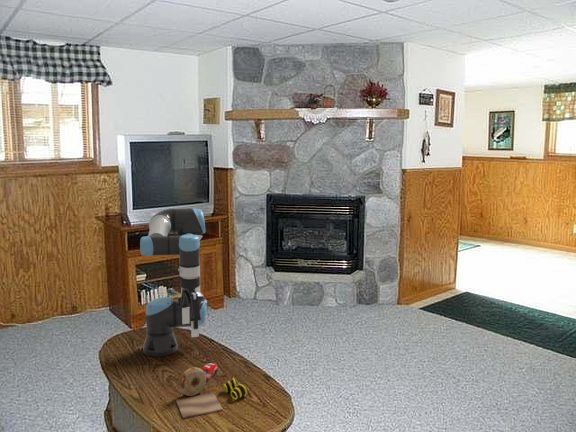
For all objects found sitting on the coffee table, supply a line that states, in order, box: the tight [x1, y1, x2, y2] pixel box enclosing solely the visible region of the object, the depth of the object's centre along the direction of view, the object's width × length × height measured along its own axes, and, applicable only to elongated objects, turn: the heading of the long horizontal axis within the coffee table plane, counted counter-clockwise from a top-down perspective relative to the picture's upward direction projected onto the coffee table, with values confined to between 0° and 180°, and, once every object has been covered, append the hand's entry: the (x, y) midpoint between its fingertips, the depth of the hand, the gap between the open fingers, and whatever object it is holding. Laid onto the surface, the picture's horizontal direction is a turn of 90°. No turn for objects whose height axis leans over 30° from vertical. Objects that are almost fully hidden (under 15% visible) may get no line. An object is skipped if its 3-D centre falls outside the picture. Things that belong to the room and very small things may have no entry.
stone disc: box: [178, 366, 207, 397], centre depth 183 cm, size 10×4×10 cm, turn 128°
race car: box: [201, 363, 219, 384], centre depth 197 cm, size 13×5×4 cm, turn 161°
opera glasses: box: [222, 377, 248, 401], centre depth 184 cm, size 10×5×5 cm, turn 37°
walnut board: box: [175, 392, 224, 419], centre depth 175 cm, size 12×14×1 cm
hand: (190, 329), depth 187 cm, fingers open, 13 cm apart
